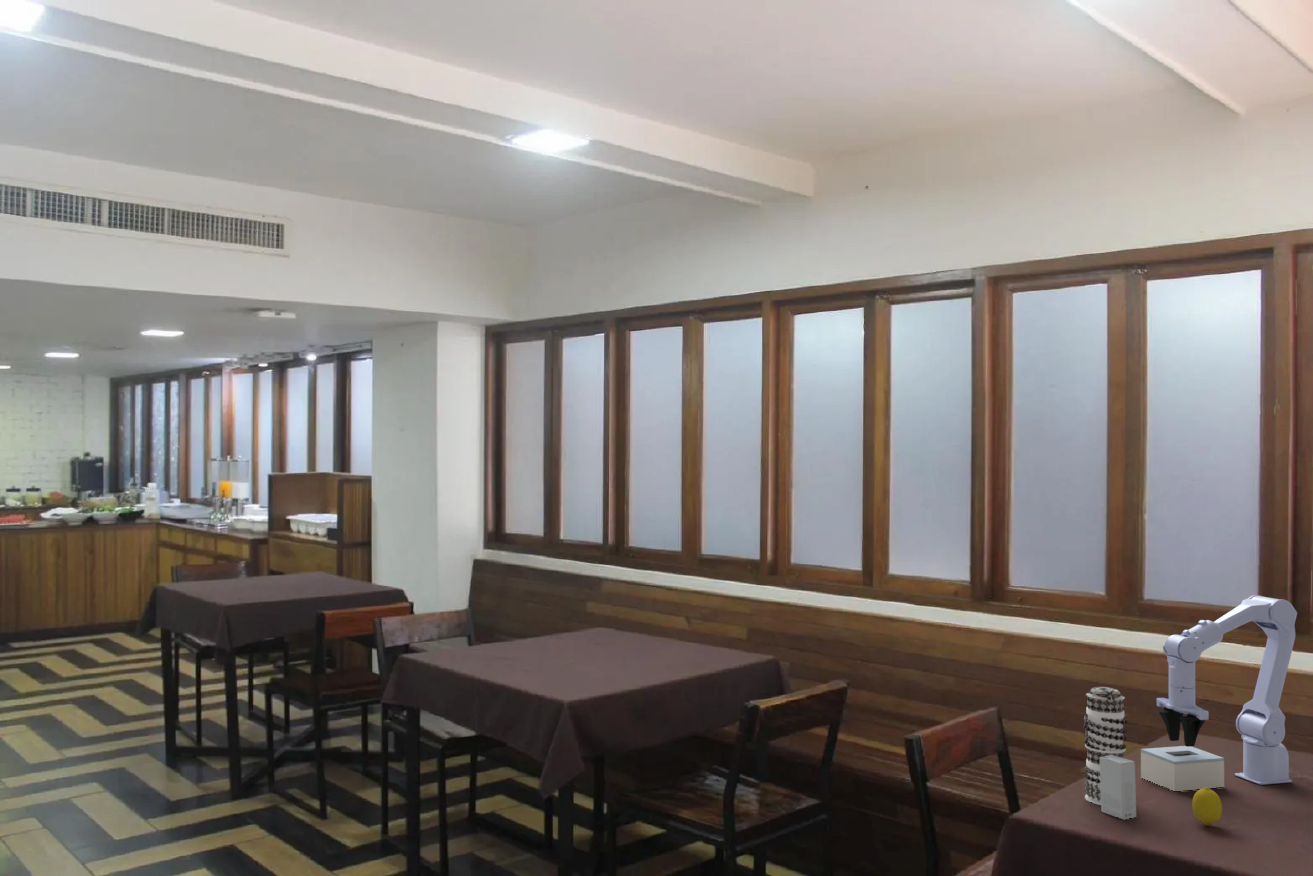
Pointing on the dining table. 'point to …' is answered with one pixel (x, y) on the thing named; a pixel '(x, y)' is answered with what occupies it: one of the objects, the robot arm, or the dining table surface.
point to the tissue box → (1182, 768)
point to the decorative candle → (1102, 735)
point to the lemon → (1207, 806)
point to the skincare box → (1118, 787)
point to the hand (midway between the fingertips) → (1181, 743)
